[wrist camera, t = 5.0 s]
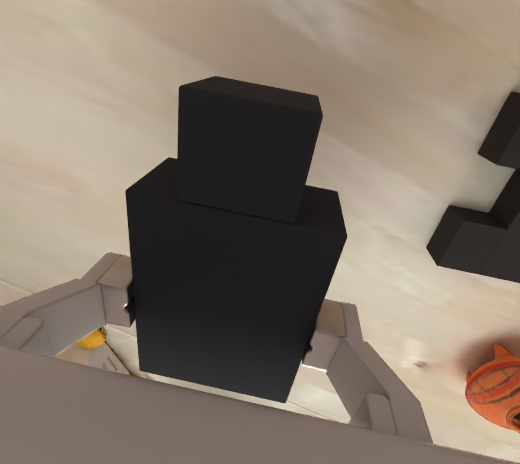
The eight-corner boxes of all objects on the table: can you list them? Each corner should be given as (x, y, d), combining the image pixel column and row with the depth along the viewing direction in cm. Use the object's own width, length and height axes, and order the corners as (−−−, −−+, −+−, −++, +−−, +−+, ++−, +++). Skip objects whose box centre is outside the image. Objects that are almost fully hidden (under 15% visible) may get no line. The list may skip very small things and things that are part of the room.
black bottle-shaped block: (168, 316, 15) (139, 371, 12) (168, 66, 9) (115, 72, 7) (289, 342, 15) (285, 404, 12) (365, 104, 9) (388, 126, 6)
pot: (486, 401, 33) (510, 465, 27) (438, 350, 33) (452, 404, 27) (569, 374, 29) (619, 442, 23) (516, 317, 29) (553, 371, 23)
